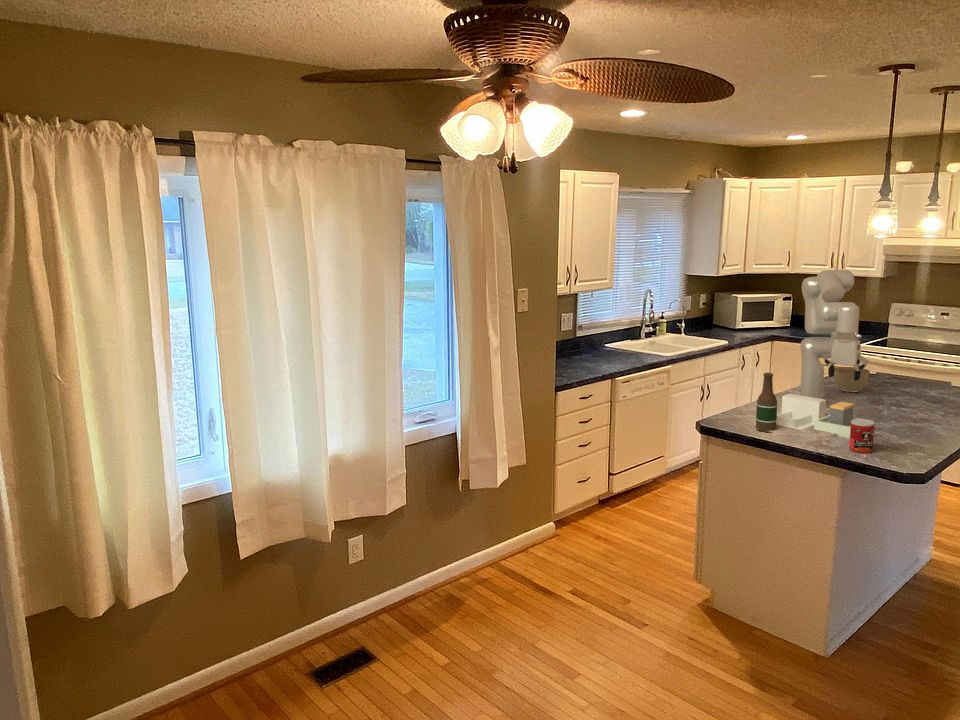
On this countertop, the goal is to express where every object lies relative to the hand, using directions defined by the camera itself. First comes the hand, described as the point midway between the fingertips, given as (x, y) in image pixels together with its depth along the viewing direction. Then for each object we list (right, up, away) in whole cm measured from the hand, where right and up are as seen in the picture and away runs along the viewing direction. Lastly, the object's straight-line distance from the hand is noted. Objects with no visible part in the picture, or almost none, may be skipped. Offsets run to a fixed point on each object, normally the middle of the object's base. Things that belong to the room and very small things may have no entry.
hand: (843, 378), depth 274 cm
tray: (+1, -21, +3) cm, 22 cm away
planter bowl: (+41, -9, +70) cm, 82 cm away
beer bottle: (-28, -22, +7) cm, 36 cm away
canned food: (-5, -26, -21) cm, 34 cm away
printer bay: (-12, -20, +16) cm, 28 cm away
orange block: (+1, -21, +3) cm, 21 cm away
